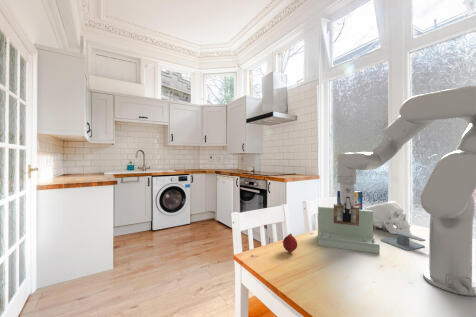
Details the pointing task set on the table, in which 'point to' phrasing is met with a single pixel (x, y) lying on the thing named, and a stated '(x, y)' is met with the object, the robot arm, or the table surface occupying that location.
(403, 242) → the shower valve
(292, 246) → the onion
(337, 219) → the frame
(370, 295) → the table surface
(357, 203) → the beverage box
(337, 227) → the ledge
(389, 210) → the skull planter
